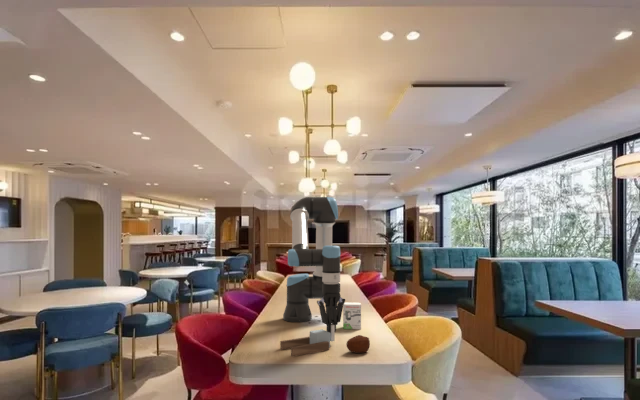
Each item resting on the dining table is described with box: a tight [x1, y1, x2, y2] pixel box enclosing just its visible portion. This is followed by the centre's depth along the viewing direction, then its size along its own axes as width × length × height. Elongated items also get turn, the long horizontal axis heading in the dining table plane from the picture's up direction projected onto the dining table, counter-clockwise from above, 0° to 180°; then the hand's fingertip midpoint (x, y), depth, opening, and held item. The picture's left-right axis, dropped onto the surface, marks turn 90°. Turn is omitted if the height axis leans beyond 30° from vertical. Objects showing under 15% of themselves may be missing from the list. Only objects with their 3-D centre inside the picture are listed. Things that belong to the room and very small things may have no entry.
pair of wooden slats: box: [279, 336, 330, 357], centre depth 157 cm, size 11×16×3 cm
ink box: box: [342, 301, 362, 330], centre depth 191 cm, size 9×5×12 cm, turn 88°
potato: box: [345, 334, 371, 354], centre depth 153 cm, size 7×9×6 cm
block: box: [309, 329, 331, 349], centre depth 160 cm, size 6×6×6 cm
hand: (331, 340), depth 163 cm, fingers closed
